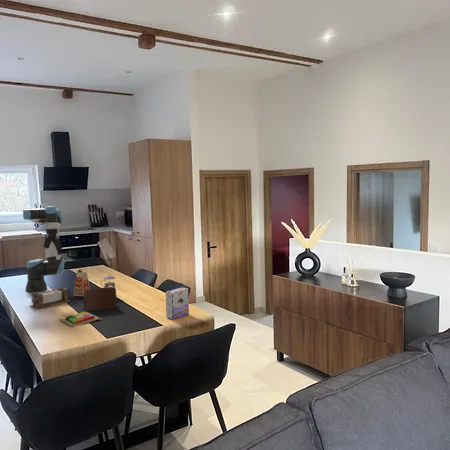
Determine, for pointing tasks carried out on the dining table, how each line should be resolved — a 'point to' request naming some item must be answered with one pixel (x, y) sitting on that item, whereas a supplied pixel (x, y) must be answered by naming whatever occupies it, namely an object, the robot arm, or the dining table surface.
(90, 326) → the dining table surface
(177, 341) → the dining table surface
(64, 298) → the cradle rack
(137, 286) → the dining table surface
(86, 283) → the milk carton
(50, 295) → the white block with pegs
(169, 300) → the candy box
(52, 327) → the dining table surface
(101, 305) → the letter holder
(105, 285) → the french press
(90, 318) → the wooden puzzle
